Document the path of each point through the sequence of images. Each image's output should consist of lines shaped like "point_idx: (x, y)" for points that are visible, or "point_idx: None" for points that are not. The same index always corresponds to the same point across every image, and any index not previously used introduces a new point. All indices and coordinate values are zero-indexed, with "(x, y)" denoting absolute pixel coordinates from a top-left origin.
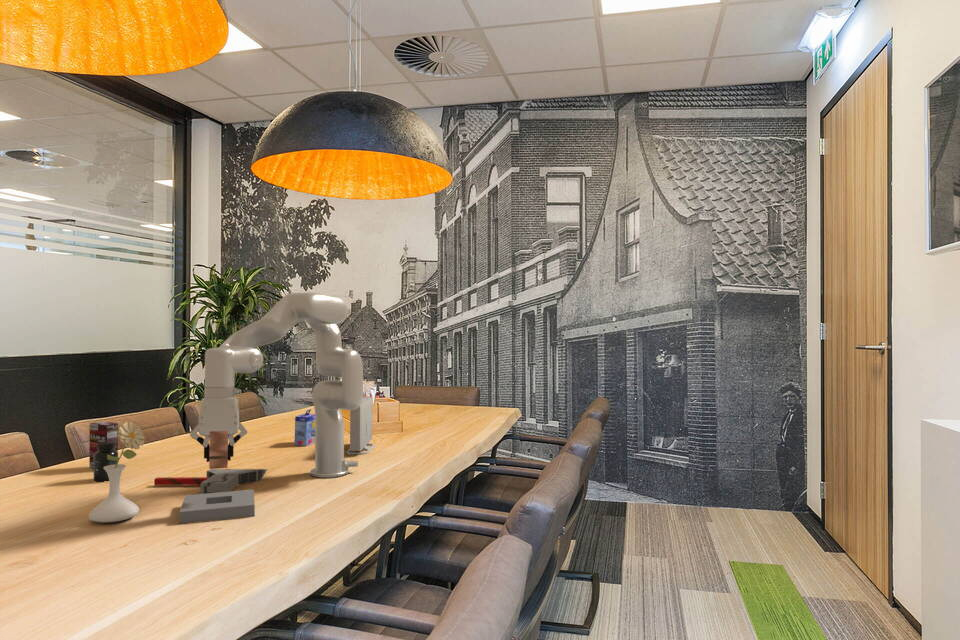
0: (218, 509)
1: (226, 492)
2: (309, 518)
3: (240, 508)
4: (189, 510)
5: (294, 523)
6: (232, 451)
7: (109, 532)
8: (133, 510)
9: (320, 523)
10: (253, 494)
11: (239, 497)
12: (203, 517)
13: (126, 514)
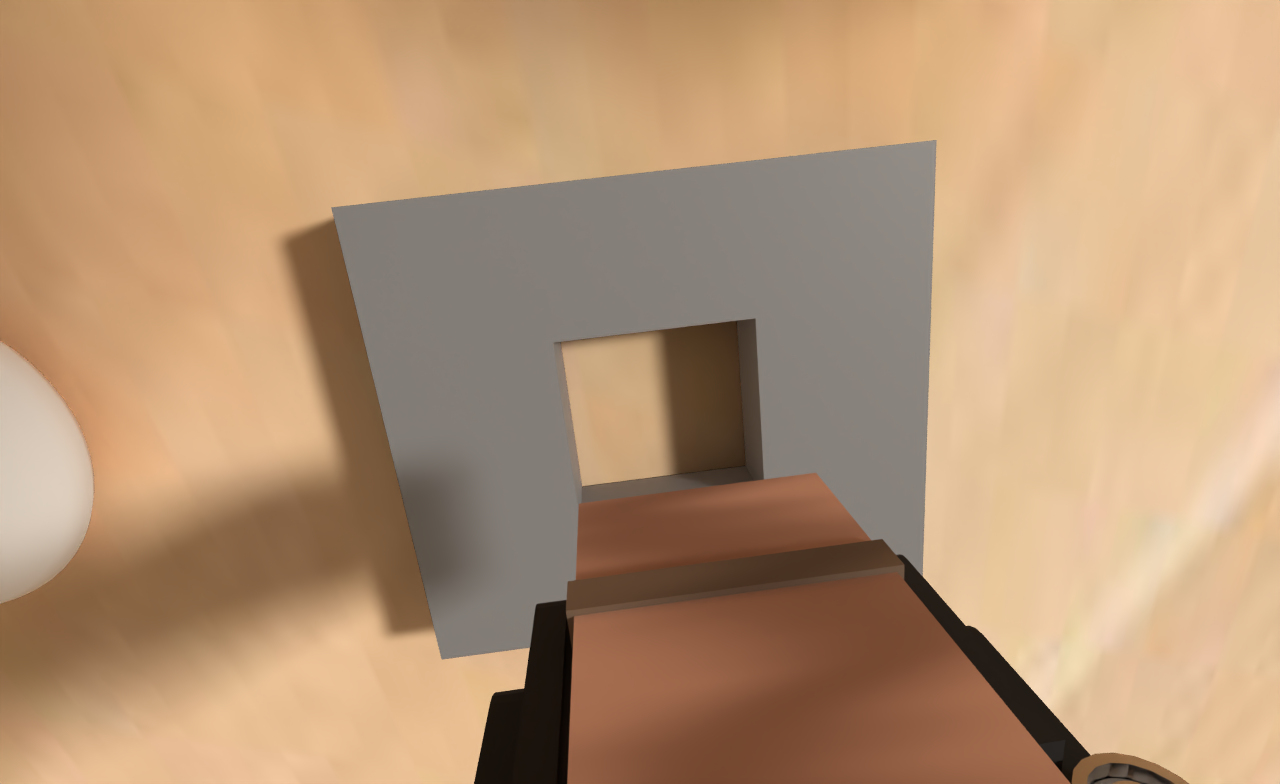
0: None
1: (697, 193)
2: (1171, 641)
3: None
4: (501, 640)
5: (1081, 702)
6: None
7: (89, 684)
8: (60, 522)
9: (1200, 721)
10: (926, 320)
11: (817, 387)
12: None
13: (50, 569)
